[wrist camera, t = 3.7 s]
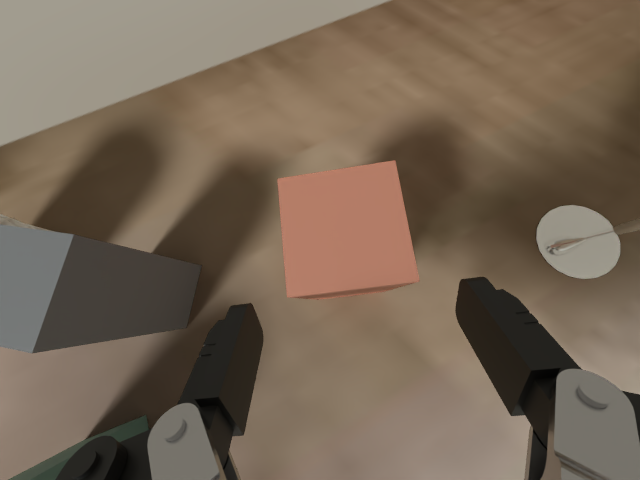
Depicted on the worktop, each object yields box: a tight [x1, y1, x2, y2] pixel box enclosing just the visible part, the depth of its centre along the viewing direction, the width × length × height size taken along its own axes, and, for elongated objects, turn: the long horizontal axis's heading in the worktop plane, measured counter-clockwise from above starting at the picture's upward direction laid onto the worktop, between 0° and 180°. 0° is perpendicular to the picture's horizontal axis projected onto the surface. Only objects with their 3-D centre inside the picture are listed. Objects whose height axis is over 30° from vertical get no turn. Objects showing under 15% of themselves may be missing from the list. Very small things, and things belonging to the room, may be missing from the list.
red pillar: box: [277, 160, 420, 300], centre depth 14 cm, size 4×4×10 cm
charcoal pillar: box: [0, 224, 202, 353], centre depth 15 cm, size 4×4×10 cm
